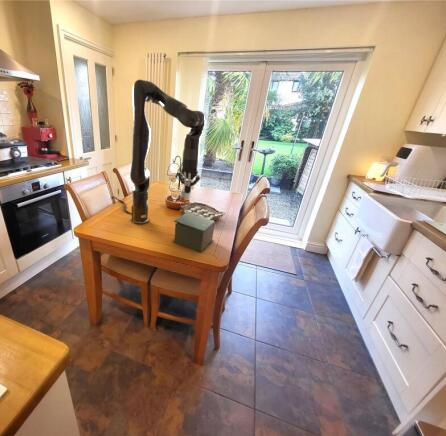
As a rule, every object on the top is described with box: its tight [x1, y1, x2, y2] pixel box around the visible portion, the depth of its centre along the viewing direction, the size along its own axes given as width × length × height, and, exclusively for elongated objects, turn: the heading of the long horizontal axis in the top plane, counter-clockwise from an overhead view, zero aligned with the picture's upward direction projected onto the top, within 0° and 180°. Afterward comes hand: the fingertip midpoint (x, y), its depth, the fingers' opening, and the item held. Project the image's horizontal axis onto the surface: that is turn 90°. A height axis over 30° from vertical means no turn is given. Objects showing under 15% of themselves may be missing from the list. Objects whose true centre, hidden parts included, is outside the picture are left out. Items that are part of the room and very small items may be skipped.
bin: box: [173, 222, 216, 253], centre depth 122 cm, size 16×14×11 cm
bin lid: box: [173, 212, 216, 232], centre depth 120 cm, size 17×14×1 cm
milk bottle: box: [179, 184, 192, 203], centre depth 168 cm, size 8×8×20 cm
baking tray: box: [179, 201, 227, 221], centre depth 154 cm, size 30×22×5 cm
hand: (187, 192), depth 116 cm, fingers closed
